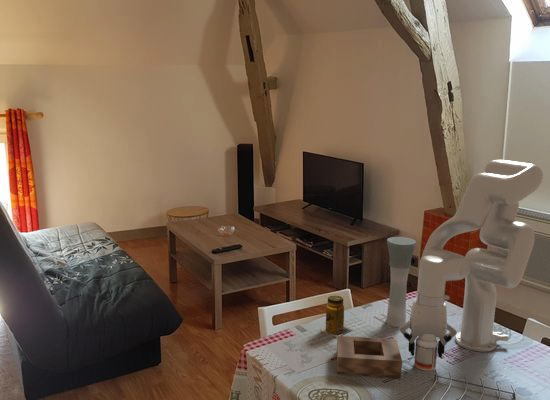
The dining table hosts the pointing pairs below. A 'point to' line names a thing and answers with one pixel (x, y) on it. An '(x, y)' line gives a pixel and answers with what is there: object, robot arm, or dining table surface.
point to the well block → (368, 357)
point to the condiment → (335, 317)
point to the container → (399, 278)
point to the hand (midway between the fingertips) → (425, 354)
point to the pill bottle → (426, 352)
